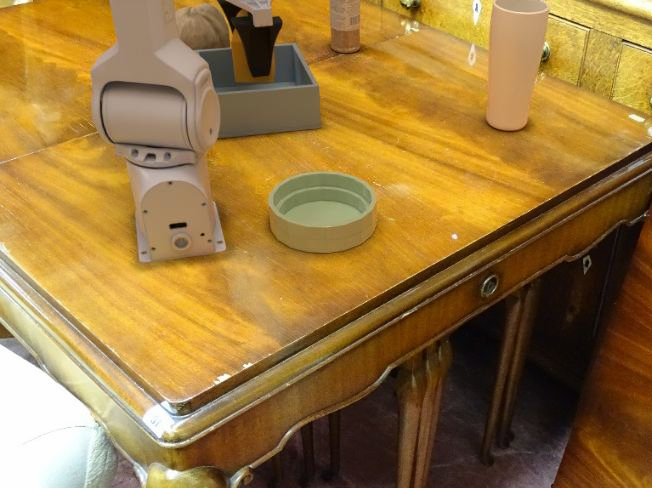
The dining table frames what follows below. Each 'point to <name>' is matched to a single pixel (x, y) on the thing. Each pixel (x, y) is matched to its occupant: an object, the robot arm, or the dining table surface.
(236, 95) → the bin
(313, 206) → the bowl
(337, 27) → the sprinkles bottle
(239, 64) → the orange ball-topped block
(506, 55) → the drinking glass
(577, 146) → the dining table surface
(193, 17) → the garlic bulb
